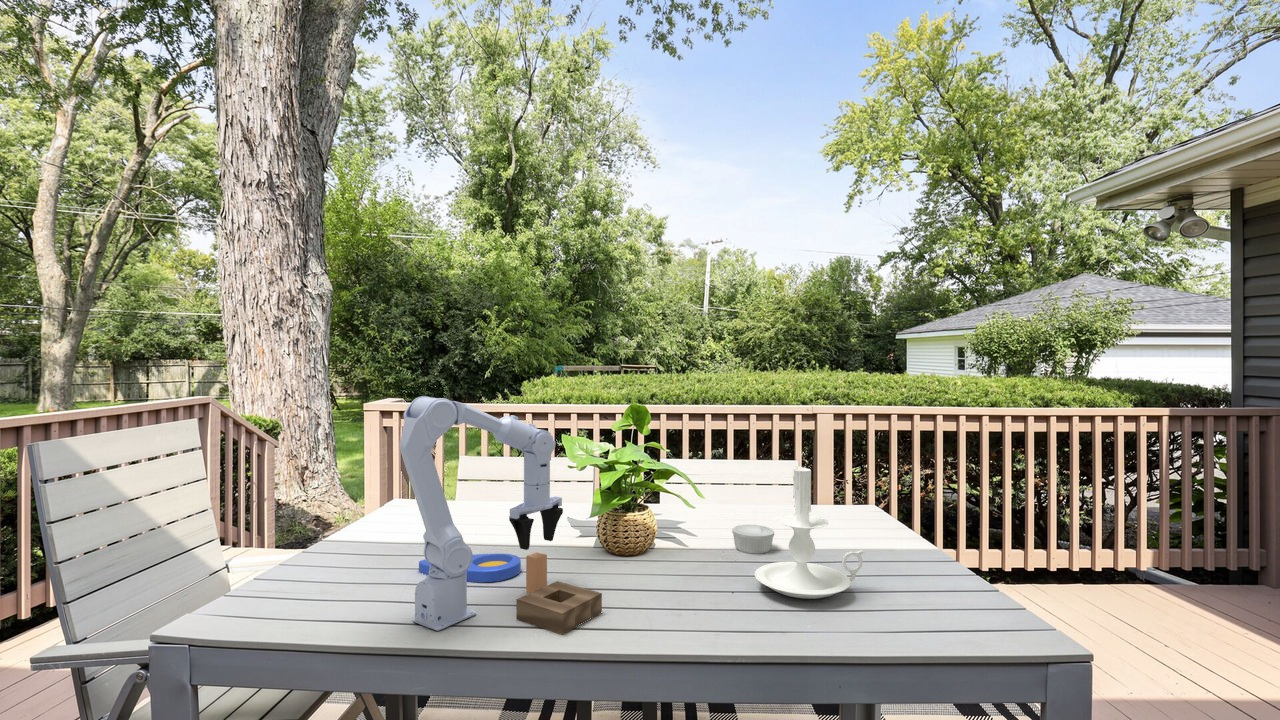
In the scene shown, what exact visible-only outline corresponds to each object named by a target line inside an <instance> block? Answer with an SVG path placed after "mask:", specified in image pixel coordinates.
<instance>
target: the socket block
mask: <svg viewBox="0 0 1280 720" xmlns="http://www.w3.org/2000/svg"><path fill="white" fill-rule="evenodd" d="M602 593H603V592H599V591H595V590H591V589H588V588H584V587H580V586H577V585H575V584H574V585H573V584H570V583H567V582H562V581H558V580H556V581H554V582H552V583H550V584H547V586H545V587H543V588H541V589H538V590H536V591H534V592H531V593H527V594H525V595H522V596H520V597H518V598H516V600H515V601H516V602H515V603H516V607H515V609H516V613H515V614H516V615H515V617H516V619H515V620H517V621H520V622H524V623H525V624H529V625H532V626H535V627H538V628H541V629H544V630H547V631H549V632H552V633H556V634H559V635H564V634H567V633H568V632H570V631H571V630H572V631H573V629H575V628H577V627H579V626H580V625H579V624H581V623H583V622H584V623H586V622H588V621H590V620H591V619H590V618H592V617H593V618H595V617H597V616H598V614H599V615H601V614H602V613H601V612H603V598H602V596H603V594H602ZM600 613H601V614H600ZM596 615H597V616H596ZM594 616H595V617H594ZM593 618H592V619H593ZM589 619H590V620H589ZM587 620H588V621H587ZM585 621H586V622H585ZM584 623H583V624H584ZM578 625H579V626H578ZM581 625H582V624H581ZM576 626H577V627H576Z"/></svg>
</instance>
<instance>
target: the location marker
mask: <svg viewBox="0 0 1280 720" xmlns="http://www.w3.org/2000/svg"><path fill="white" fill-rule="evenodd" d="M521 567H522V561H521V558H520V557H519V556H517V555H515V554H510V553H479V554H473V559H472V563H471V565H470V567H469V568H468V570H467V583H468V582H470V583H494V582H495V583H496V582H501V581H506V580H508V579H509V580H510V579H512V578H514V577H516V576H517V575H519V574H520V573H521V571H522V568H521ZM429 568H430V564H429V563H428V562H427V561H426V559H422V560H419V561H418V572H419V573H420V574H422V573H423V575H425V574H426V575H425V576H428V575H429Z"/></svg>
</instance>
